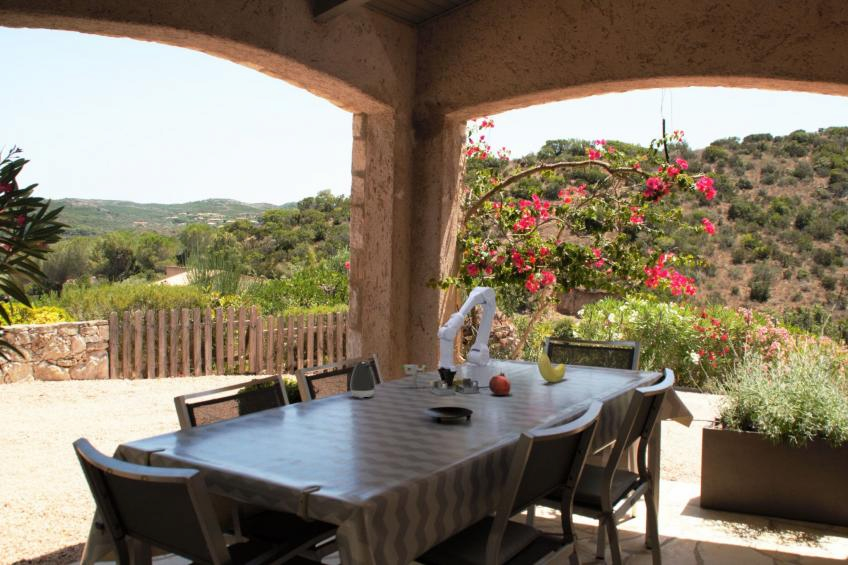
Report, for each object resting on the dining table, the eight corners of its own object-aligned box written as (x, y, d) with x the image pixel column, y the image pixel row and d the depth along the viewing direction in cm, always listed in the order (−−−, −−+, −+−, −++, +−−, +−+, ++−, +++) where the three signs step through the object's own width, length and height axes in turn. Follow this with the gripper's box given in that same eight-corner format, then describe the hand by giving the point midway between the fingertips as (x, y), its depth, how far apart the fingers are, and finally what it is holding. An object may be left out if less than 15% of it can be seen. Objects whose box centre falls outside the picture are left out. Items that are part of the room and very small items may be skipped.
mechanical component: (426, 388, 312) (426, 365, 311) (402, 388, 312) (402, 365, 311) (426, 387, 315) (426, 364, 314) (403, 387, 315) (403, 364, 314)
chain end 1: (446, 390, 305) (446, 379, 305) (455, 394, 296) (455, 382, 296) (431, 392, 303) (431, 380, 303) (439, 396, 294) (439, 384, 294)
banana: (558, 378, 336) (558, 336, 336) (569, 379, 333) (569, 336, 332) (535, 385, 318) (535, 340, 317) (547, 386, 315) (547, 341, 314)
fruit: (486, 396, 293) (485, 372, 293) (492, 392, 302) (492, 368, 302) (507, 397, 290) (507, 373, 289) (513, 393, 298) (513, 370, 298)
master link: (460, 387, 314) (460, 377, 314) (463, 389, 311) (463, 378, 311) (430, 390, 309) (430, 379, 309) (433, 391, 306) (433, 380, 306)
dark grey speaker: (360, 400, 285) (360, 362, 285) (345, 397, 293) (345, 360, 292) (380, 397, 292) (380, 360, 291) (365, 393, 300) (365, 357, 299)
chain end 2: (469, 389, 309) (469, 377, 309) (479, 393, 300) (479, 381, 300) (454, 390, 307) (454, 378, 307) (464, 394, 298) (464, 382, 298)
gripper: (432, 353, 315) (432, 383, 315) (444, 357, 301) (444, 389, 302) (446, 352, 317) (446, 382, 318) (460, 356, 304) (460, 388, 304)
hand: (446, 385), depth 310 cm, fingers open, 4 cm apart
